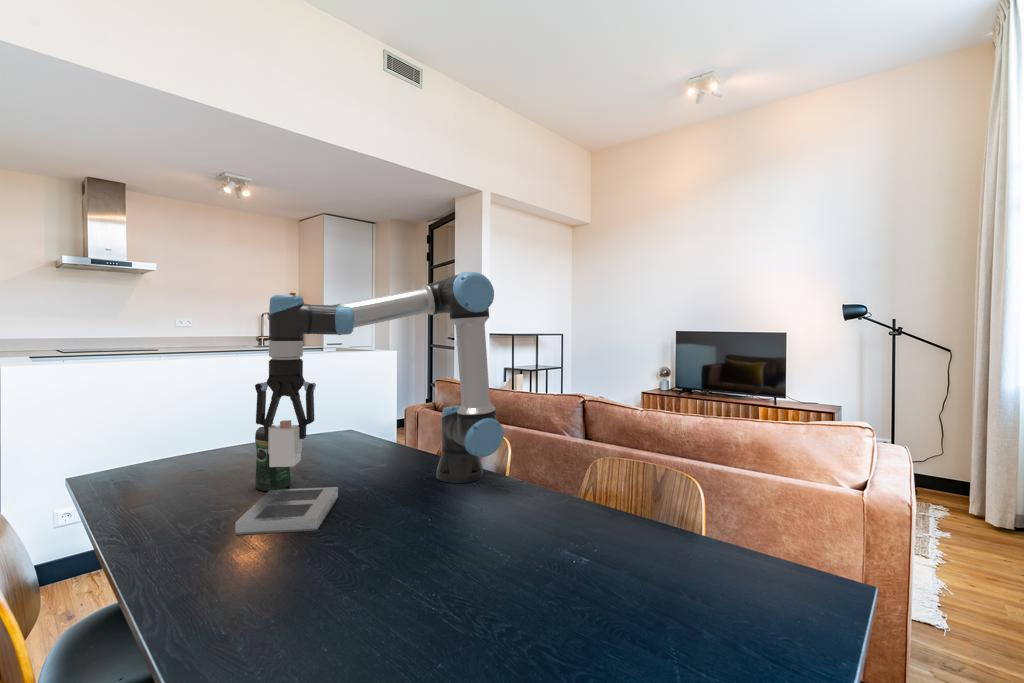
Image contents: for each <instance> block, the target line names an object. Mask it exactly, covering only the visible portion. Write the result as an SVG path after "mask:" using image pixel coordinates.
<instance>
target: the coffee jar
mask: <svg viewBox="0 0 1024 683" xmlns="http://www.w3.org/2000/svg"><path fill="white" fill-rule="evenodd" d="M254 442H255V448H256V463H255V481H254V482H255V485H254V486H255V488H256V489H257V490H260V491H265V492H269V491H270V490H277V489H288V487H290V486H291V469H290V468H291V467H269V454H268V440H265V438H264V426H260V427H258V428H257V429H256V431H255V436H254Z"/></svg>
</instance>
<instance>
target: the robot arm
mask: <svg viewBox="0 0 1024 683" xmlns="http://www.w3.org/2000/svg"><path fill="white" fill-rule="evenodd" d="M494 299H495V289H494V286H493V285H492V282H491V281H490V280H489V278H488V277H486V275H484V274H482V273H481V272H476V271H468V272H467V271H466V272H461V273H459V274H456V275H450V276H449V277H446V278H444V279H441V280H439V281H435V282H432V283H427V284H423V285H422V287H421V288H418V289H412V290H407V291H401V292H396V293H390V294H386V295H379V296H374V297H369V298H364V299H363V298H362V299H358V300H353V301H347V302H342V303H336V304H308V303H305V302H304V298H303V296H302V295H292V294H274V295H272V296H271V297H270V299H269V311H268V357H269V358H270V359H269V360H268V378H267V380H266V381H264V382H257V383H256V384H255V385H254V389H255V391H256V410H255V412H256V413H255V424H256V425H259V426H262V427H264V438H265V440H268V454H269V450H270V429H272V428H274V427H275V426H277V425H276V424H275V425H274V420H275V416H276V414H277V410H278V408H279V404H280V401H281V400H280V399H282V397H289V398H290V401H291V403H292V407H293V409H294V412H295V415H296V419H297V422H298V424H297V425H298V426H297V427H296V454H299V453H300V452H302V451H303V440H305V438H306V437H307V425H310V424H312V423H313V422H314V421H315V397H314V395H315V394H314V393H315V392H314V391H315V389H316V386H317V384H316V383H315V382H309V381H306V380H305V378H304V369H303V368H304V360H303V359H302V357H303V355H304V349H303V348H304V335H330V336H331V335H333V336H334V335H337V336H342V335H351V334H352V333H353V332H354V329H355V328H359V327H364V326H368V325H375V324H378V323H384V322H387V321H388V322H389V321H393V320H397V319H403V318H407V317H412V316H418V315H422V314H428V315H429V316H434V315H439V314H449V319H450V321H451V322H452V323H453V324H454V325H455V335H456V345H457V347H456V348H457V358H458V360H457V361H458V363H457V364H458V374H459V386H460V387H459V389H460V401H461V404H460V405H453V406H446V407H444V408H442V412H441V413H442V414H441V455H440V458H439V461H438V464H437V467H436V475H435V476H436V479H437V480H439V481H441V482H444V483H451V484H465V483H473V482H475V481H478V480H480V479H482V478H483V475H484V468H483V465H482V462H481V458H484V457H485V458H486V457H488V456H489V457H490V456H491V455H493V454H494V453H496V452H497V450H498V449H499V448H500V447H501V446H502V443H503V440H504V436H505V435H504V434H505V433H504V429H503V428H504V427H503V425H502V424H501V422H500V421H498V420H497V410H496V406H495V405H493V404H492V403H491V398H490V397H491V396H490V383H489V382H490V380H489V369H488V356H487V354H488V353H487V340H486V326H485V324H486V323H487V321H488V320H489V318H490V309H489V308H490V307H491V305H493V302H494ZM303 387H304V391H305V409H306V410H304V407H303V404H302V401H301V395H300V392H299V391H300V390H301V389H302V388H303ZM268 388H269V389H270V390H271V391H272V394H271V397H270V398H271V400H270V403H269V406H268V409H267V408H266V407H267V406H266V405H267V390H268ZM266 409H267V413H266ZM305 412H306V413H305ZM305 414H306V415H305Z"/></svg>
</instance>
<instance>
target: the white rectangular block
mask: <svg viewBox="0 0 1024 683" xmlns="http://www.w3.org/2000/svg"><path fill="white" fill-rule="evenodd" d="M298 425H299V424H292V420H288V419H287V420H286V419H285V420H284V419H283V420H281V421H280V422H279V424H277V425H276V426H275V427H274V428H272V429H270V450H269V467H290V468H291V467H295V466H296V465H297V464H298V463H300V461H302V460H301V457H302V456H301V455H302V453H301V452H302V451H301V452H300V453H299V454H296V427H297V426H298Z"/></svg>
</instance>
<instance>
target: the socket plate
mask: <svg viewBox="0 0 1024 683" xmlns="http://www.w3.org/2000/svg"><path fill="white" fill-rule="evenodd" d="M338 498H339V486H330V487H328V486H325V487H305V488H285V489H277V490H270V491H266V493H265V494H263V496H261V498H260V499H259V500H258V501H256V503H255V504H254V505H252V506H251V507H250V508H249V509H248V510H246V512H245V513H243V515H242V516H240V517H239V519H237V520H236V521H235V536H240V535H241V536H242V535H244V536H245V535H257V534H258V535H260V534H276V533H277V534H279V533H280V534H281V533H296V532H299V533H300V532H313V531H314V532H315V531H319V528H320V527H321V525H323V522H324V520H325V519H326V517H327V515H328V514H329V513H330V511H331V509H332V508H333V506H334V505H335V503H336V501H337V499H338Z"/></svg>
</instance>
